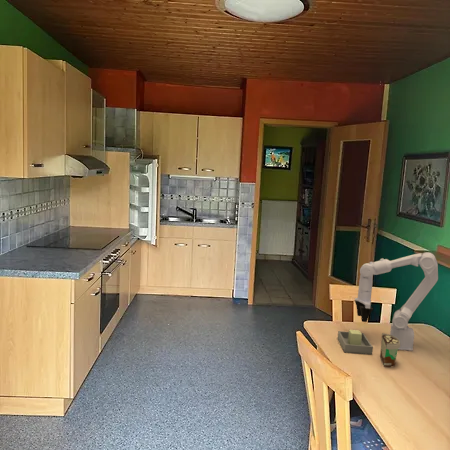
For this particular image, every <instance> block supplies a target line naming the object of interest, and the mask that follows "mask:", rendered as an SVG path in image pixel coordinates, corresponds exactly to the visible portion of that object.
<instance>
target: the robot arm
mask: <svg viewBox="0 0 450 450" xmlns="http://www.w3.org/2000/svg"><path fill="white" fill-rule="evenodd" d="M408 265H411V266H414V267H420V268H421V269H422V271H423V273H424V278H423V279H422V280H421V282H420V283H419V284H418V286H417V287H416V289H415V290H414V291H413V292H412V294H411V295H410V296H409V298H408V299H407V300H406V302H405V303H404V304H403V305H402V306H401V307H400V308H399V309H397V310H395V312H394V313H393V317H392V320H391V322H392V323H391V325H390V330H389V331H390V332H389V335H392V336H394V337H396V338H398V339H399V342H400V348H398V351H399V350H400V351H401V350H402V351H410V352H411V351H414V343H415V342H414V340H415V331H414V328H412V327H409V321H410V319H411V317H412V315H413V314H414V313H415V311H416V309H417V308H418V307H419V305H421V303H422V302H423V300H424V299H425V298H426V296H427V295H428V294H429V293H430V291H431V290H432V289H433V287H434V286H435V285H436V284H437V282H438V280H439V271H438V270H439V269H438V267H439V265H438V261H437V258H436V255H434V254H433V252H427V251H426V252H423V253H421V252H420V253H415V254H411V255H407V256H403V257H399V258H396V259H392V260H389V259H388V258H385V259H384V258H383V257H382V258H380V259H379V260H376V261H369V262H368V263H363V265H361V266H360V268H359V274H360V275H359V281H358V290H357V292H358V293H357V297H355V298H354V303H355V307H356V313H357V317H360V318H361V323H362V322H363V323H367V322H368V320H369V318H370V315H371V313H372V312H373V310H374V308H373V307H372V306H371V305H372V293H373V283H374V282H373V276H375V275H376V276H377V275H382V274H385V273H389V272H391V271H392V269H395V268H399V267H404V266H408Z"/></svg>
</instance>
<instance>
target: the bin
mask: <svg viewBox="0 0 450 450" xmlns="http://www.w3.org/2000/svg"><path fill="white" fill-rule="evenodd" d="M361 334H362V339H361V345H350V344H348V335H349V331H342V330H338V331H337V340H338V343H339V344H340V346H341V348H342V350H343V352H344V353H345V354H355V355H357V354H358V355H368V356H369V355H371V356H373V353H374V352H373V350H374V346H373V345H372V343H371V342H370V340H369V339H368V337H367V336H366V334H365V333H364V332H361Z"/></svg>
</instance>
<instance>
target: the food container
mask: <svg viewBox="0 0 450 450" xmlns="http://www.w3.org/2000/svg"><path fill="white" fill-rule="evenodd" d="M380 341H381V342H380V355H379V357H380V361H381V363H382V366H383V368H392V367H394V366H395V364H396V360H397V355H398V351H399V349H398V348H400V342H399V339H398V338H396V337H394V336H392V335H390V333H383V332H382V333H381V340H380Z"/></svg>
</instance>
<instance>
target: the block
mask: <svg viewBox="0 0 450 450" xmlns="http://www.w3.org/2000/svg"><path fill="white" fill-rule="evenodd" d="M348 332H349V335H348V344H350V345H361V339H362V334H361V333H362V332H361V331H360V330H357V329H349V330H348Z"/></svg>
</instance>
